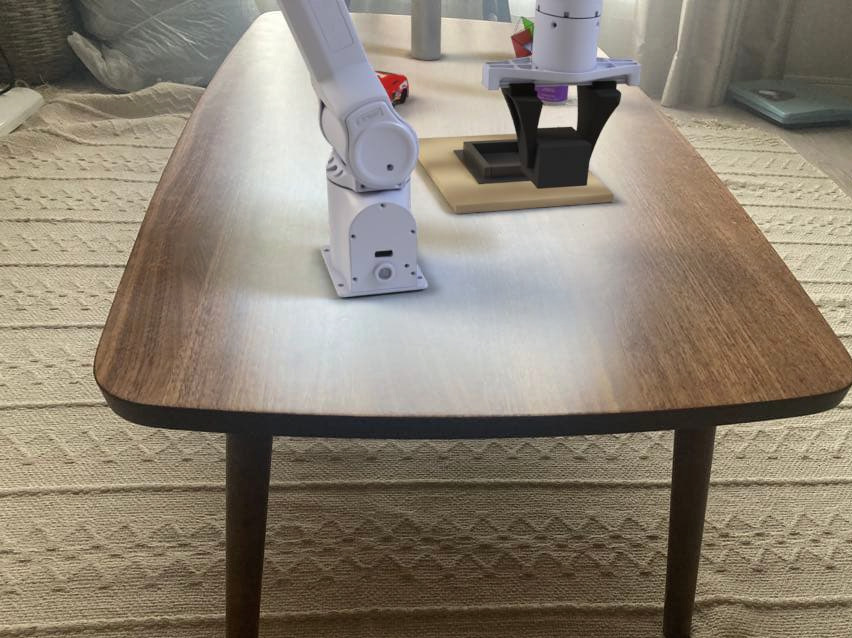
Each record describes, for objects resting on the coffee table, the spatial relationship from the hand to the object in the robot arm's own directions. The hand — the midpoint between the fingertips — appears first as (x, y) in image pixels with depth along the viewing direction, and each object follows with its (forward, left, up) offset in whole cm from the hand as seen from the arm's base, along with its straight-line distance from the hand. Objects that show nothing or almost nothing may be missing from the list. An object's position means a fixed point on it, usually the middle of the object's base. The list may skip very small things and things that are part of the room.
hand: (554, 163), depth 88 cm
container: (+44, -17, -9) cm, 48 cm away
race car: (+44, +8, -9) cm, 45 cm away
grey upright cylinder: (+67, -5, -9) cm, 67 cm away
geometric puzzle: (+63, -21, -9) cm, 67 cm away
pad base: (+19, -2, -8) cm, 21 cm away
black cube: (0, 0, -1) cm, 1 cm away
